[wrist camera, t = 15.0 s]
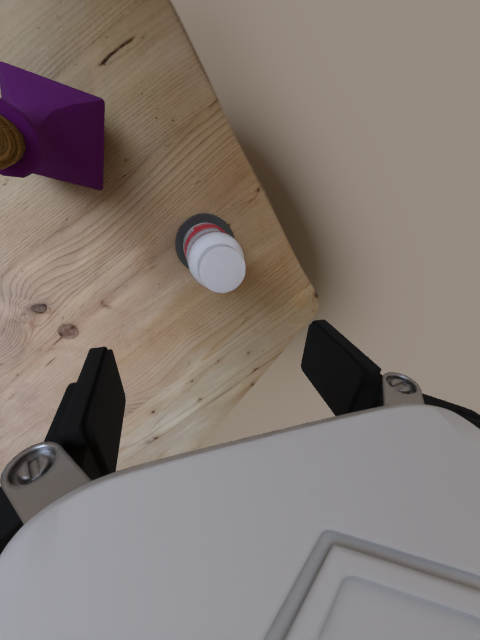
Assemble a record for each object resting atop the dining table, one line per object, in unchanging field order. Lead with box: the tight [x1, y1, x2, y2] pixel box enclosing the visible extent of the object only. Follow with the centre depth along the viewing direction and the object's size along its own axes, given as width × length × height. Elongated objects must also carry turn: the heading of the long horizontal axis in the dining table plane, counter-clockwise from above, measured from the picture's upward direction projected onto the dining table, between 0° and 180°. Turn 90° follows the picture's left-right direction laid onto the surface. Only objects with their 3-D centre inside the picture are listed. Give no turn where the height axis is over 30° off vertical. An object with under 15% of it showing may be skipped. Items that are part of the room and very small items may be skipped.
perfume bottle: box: [0, 62, 105, 190], centre depth 17 cm, size 8×8×18 cm
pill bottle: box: [183, 223, 246, 293], centre depth 29 cm, size 6×6×11 cm
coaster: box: [176, 213, 234, 269], centre depth 34 cm, size 8×8×1 cm
